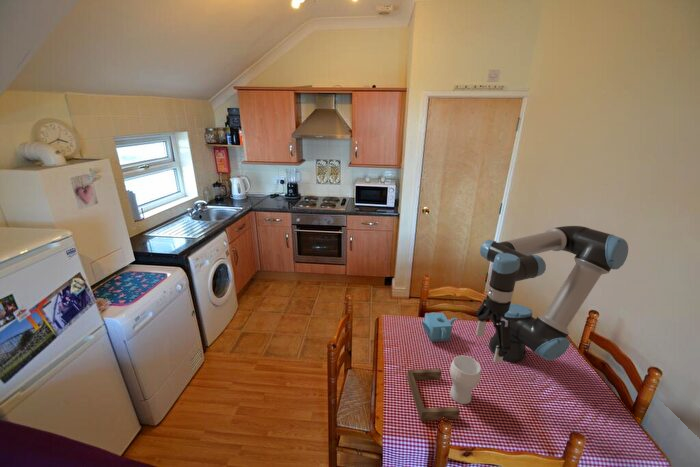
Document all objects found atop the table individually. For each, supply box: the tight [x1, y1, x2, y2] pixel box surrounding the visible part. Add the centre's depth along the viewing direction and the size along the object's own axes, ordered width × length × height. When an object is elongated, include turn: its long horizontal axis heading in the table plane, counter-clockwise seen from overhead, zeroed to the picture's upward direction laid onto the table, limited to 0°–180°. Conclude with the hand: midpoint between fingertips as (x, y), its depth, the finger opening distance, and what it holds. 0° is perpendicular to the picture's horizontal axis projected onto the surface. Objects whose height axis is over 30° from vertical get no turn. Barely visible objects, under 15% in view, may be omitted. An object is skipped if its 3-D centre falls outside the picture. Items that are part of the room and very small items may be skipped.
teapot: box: [420, 312, 458, 343], centre depth 145 cm, size 16×18×11 cm
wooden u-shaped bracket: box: [406, 368, 461, 422], centre depth 113 cm, size 14×19×4 cm
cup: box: [449, 354, 482, 405], centre depth 112 cm, size 11×11×15 cm
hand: (488, 347), depth 109 cm, fingers open, 13 cm apart
